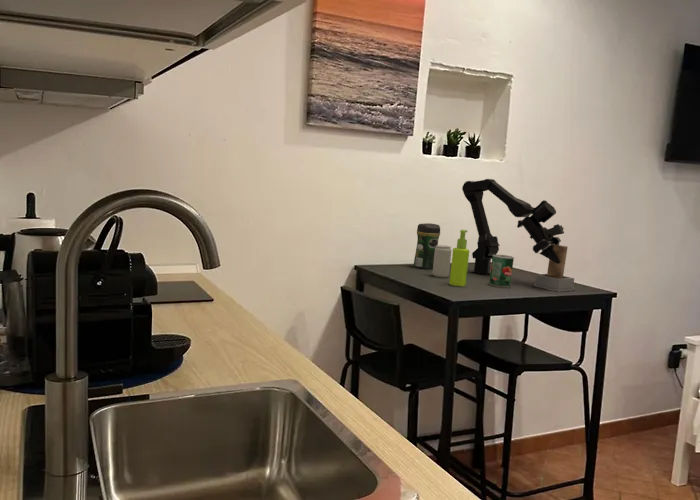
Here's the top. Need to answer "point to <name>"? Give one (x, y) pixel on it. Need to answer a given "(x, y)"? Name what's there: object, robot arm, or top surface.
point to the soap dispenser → (459, 262)
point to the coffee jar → (426, 245)
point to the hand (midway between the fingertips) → (560, 262)
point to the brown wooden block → (554, 268)
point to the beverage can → (442, 261)
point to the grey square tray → (554, 283)
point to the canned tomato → (501, 270)
